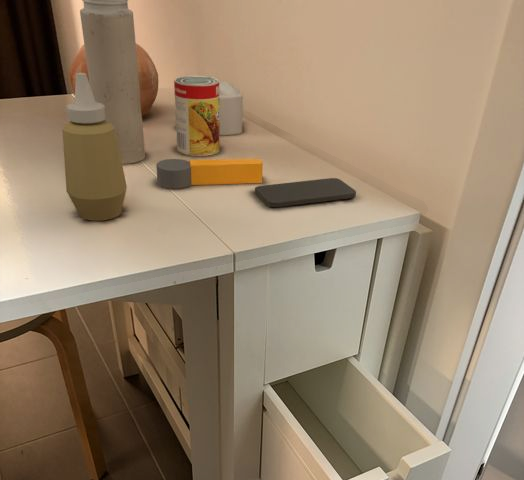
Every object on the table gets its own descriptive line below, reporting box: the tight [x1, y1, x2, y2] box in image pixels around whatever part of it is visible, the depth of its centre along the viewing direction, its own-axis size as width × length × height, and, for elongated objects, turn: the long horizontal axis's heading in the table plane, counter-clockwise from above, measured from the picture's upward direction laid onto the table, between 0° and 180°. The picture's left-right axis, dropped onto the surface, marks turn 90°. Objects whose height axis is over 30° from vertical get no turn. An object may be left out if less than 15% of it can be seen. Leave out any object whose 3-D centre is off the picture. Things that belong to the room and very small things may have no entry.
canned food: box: [173, 74, 221, 157], centre depth 100 cm, size 8×8×12 cm
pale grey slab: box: [219, 81, 244, 136], centre depth 113 cm, size 10×13×9 cm
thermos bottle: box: [79, 0, 146, 165], centre depth 90 cm, size 8×8×28 cm
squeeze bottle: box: [62, 73, 128, 221], centre depth 73 cm, size 8×8×18 cm
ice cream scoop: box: [155, 158, 264, 190], centre depth 89 cm, size 17×6×3 cm, turn 102°
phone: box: [254, 177, 357, 208], centre depth 87 cm, size 7×1×15 cm
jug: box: [68, 42, 159, 120], centre depth 115 cm, size 18×18×20 cm
